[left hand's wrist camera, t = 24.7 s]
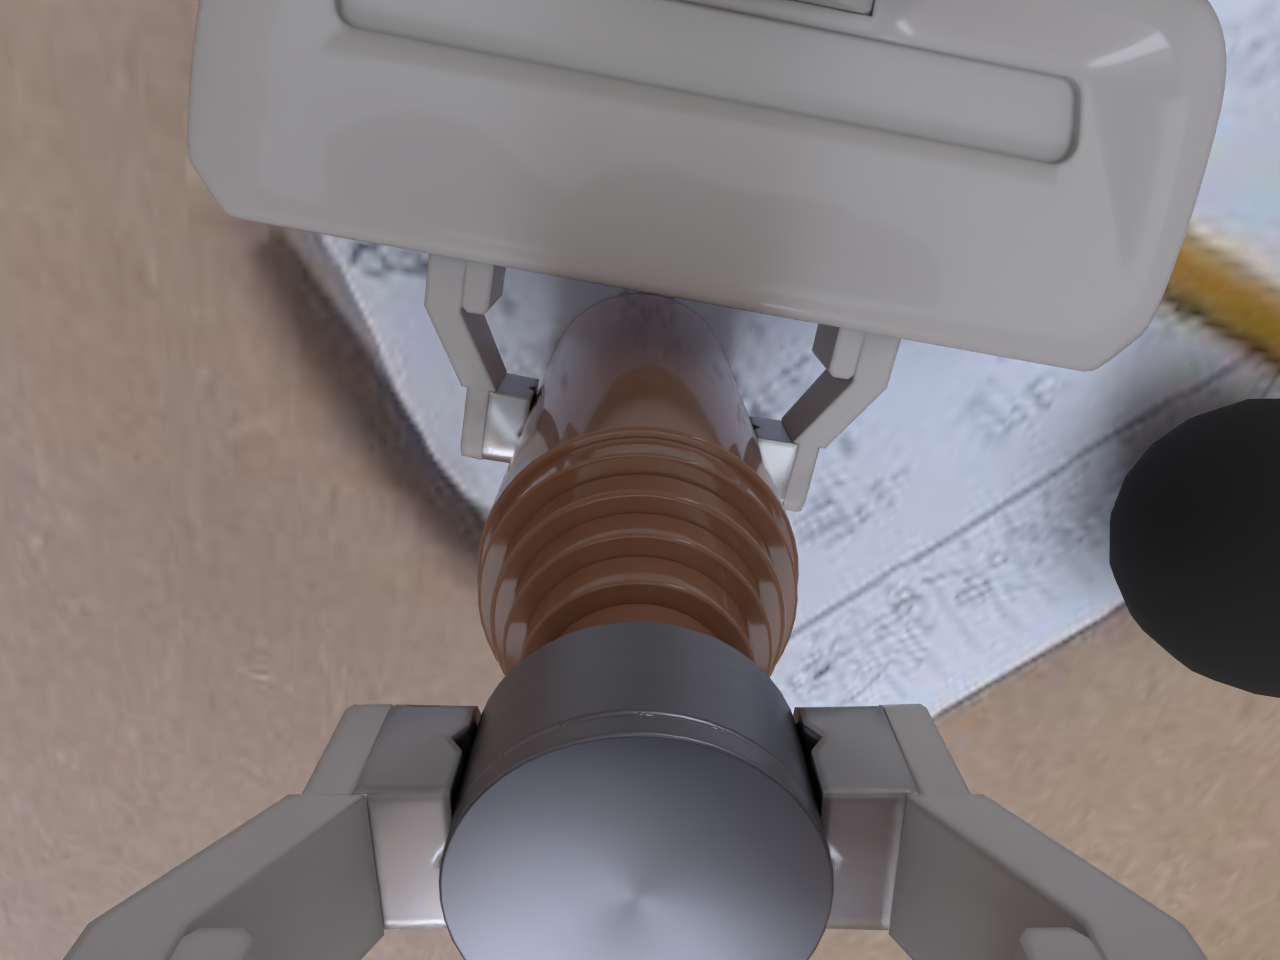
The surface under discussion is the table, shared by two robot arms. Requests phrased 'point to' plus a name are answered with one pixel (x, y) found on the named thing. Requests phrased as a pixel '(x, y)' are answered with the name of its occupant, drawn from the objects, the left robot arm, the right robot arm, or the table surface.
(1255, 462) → the bomb
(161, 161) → the table surface
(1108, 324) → the right robot arm
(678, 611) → the bottle
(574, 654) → the cap
